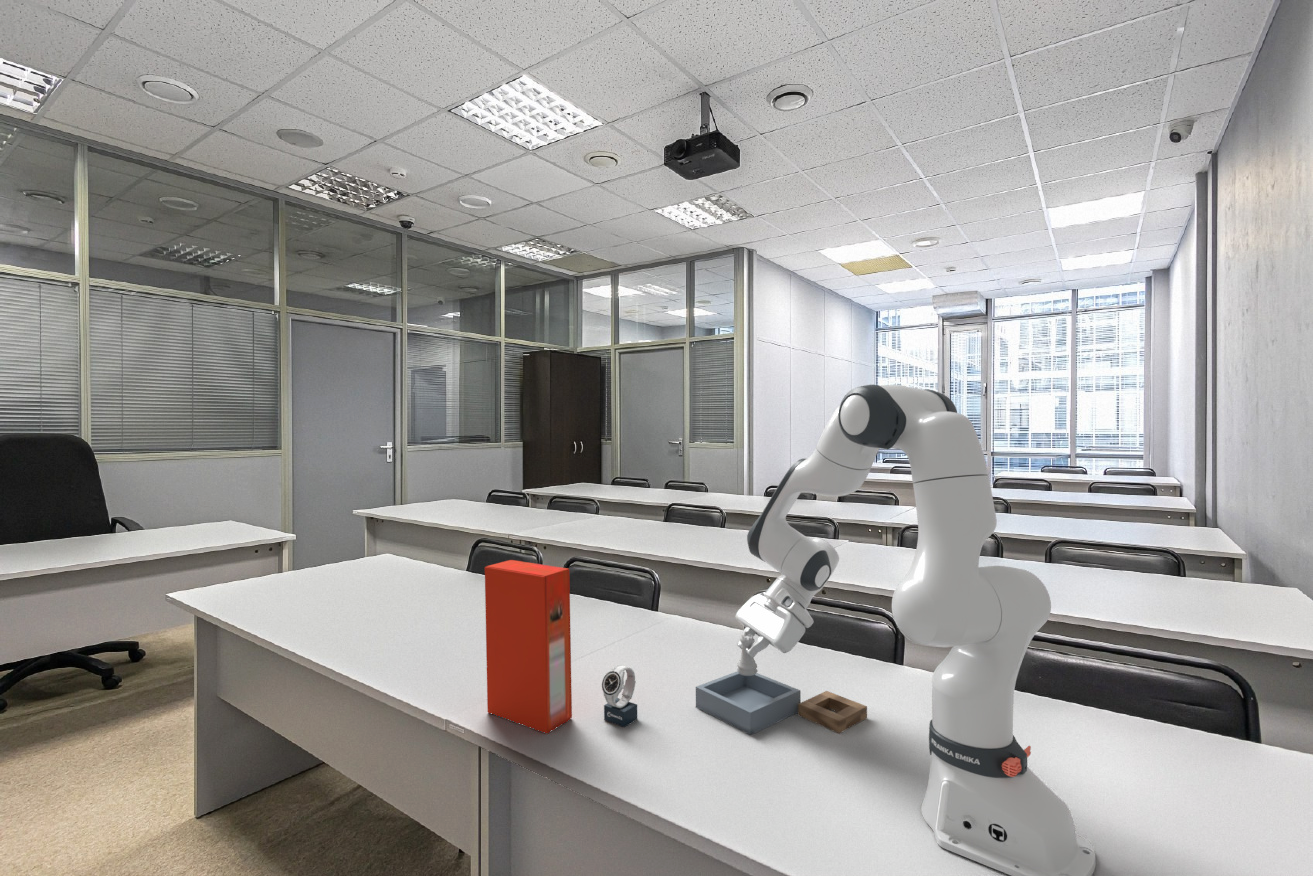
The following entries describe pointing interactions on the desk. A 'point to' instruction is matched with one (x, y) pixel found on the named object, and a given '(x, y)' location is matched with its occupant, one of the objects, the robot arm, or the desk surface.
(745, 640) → the rook chess piece
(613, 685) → the watch
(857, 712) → the socket block
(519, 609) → the file binder
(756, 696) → the tray
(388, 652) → the desk surface
